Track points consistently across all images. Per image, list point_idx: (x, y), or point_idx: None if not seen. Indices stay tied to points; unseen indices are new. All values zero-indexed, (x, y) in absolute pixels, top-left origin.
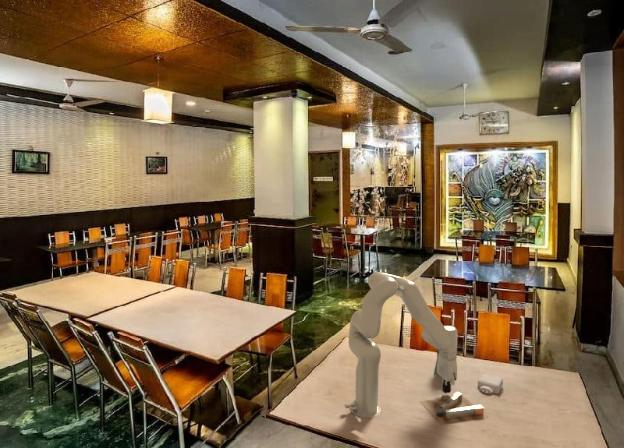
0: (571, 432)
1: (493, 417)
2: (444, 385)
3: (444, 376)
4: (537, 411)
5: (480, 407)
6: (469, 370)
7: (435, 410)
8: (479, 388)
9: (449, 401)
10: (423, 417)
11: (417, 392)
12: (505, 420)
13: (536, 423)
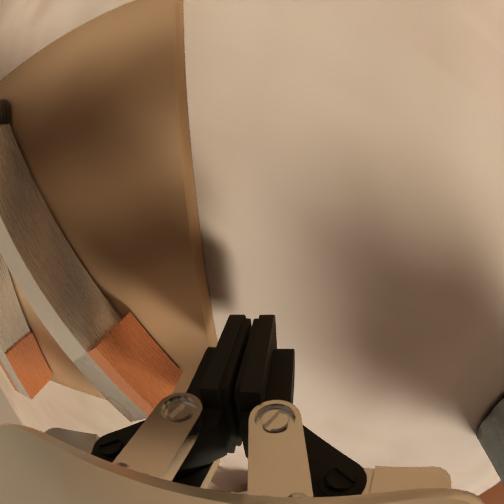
0: None
1: (60, 393)
2: (205, 380)
3: (22, 497)
4: None
5: (11, 379)
6: (452, 485)
7: (36, 102)
8: None
9: (2, 242)
10: (41, 23)
11: (413, 64)
12: (56, 409)
13: None
